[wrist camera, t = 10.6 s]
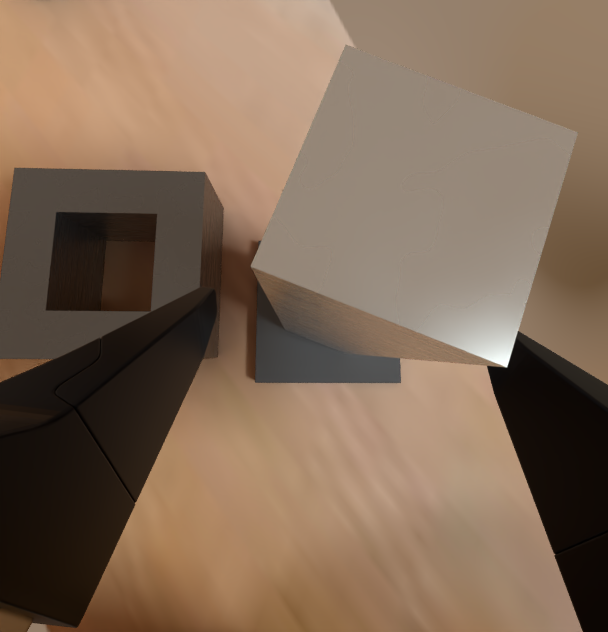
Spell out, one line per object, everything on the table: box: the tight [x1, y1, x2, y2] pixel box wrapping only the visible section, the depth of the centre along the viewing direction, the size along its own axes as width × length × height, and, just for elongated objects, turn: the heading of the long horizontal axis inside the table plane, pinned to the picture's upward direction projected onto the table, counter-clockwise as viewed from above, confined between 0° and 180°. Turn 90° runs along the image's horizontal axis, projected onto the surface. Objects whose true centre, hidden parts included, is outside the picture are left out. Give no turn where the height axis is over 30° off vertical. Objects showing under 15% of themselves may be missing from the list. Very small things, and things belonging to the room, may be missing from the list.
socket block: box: [0, 168, 224, 359], centre depth 17 cm, size 10×10×4 cm
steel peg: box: [251, 45, 578, 367], centre depth 11 cm, size 4×4×14 cm
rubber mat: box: [255, 241, 401, 383], centre depth 19 cm, size 9×9×1 cm
